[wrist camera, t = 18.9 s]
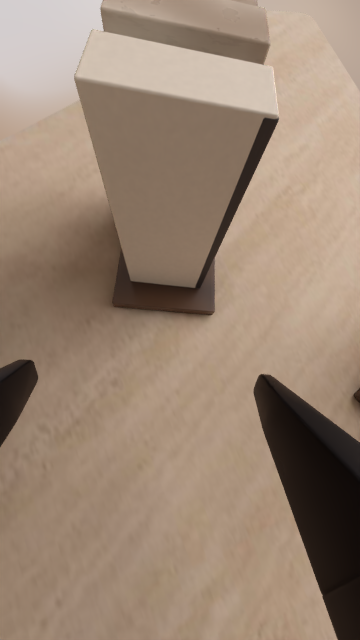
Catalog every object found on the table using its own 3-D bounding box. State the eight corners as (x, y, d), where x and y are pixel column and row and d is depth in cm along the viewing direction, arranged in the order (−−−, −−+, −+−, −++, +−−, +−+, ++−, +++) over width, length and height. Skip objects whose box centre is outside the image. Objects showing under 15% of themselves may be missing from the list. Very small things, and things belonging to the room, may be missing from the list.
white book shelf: (212, 315, 21) (333, 172, 6) (114, 306, 20) (0, 119, 5) (212, 196, 25) (284, -41, 11) (133, 185, 24) (99, -87, 10)
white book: (200, 289, 20) (281, 116, 7) (130, 281, 20) (72, 76, 6) (201, 263, 21) (275, 65, 8) (134, 255, 21) (91, 27, 7)
